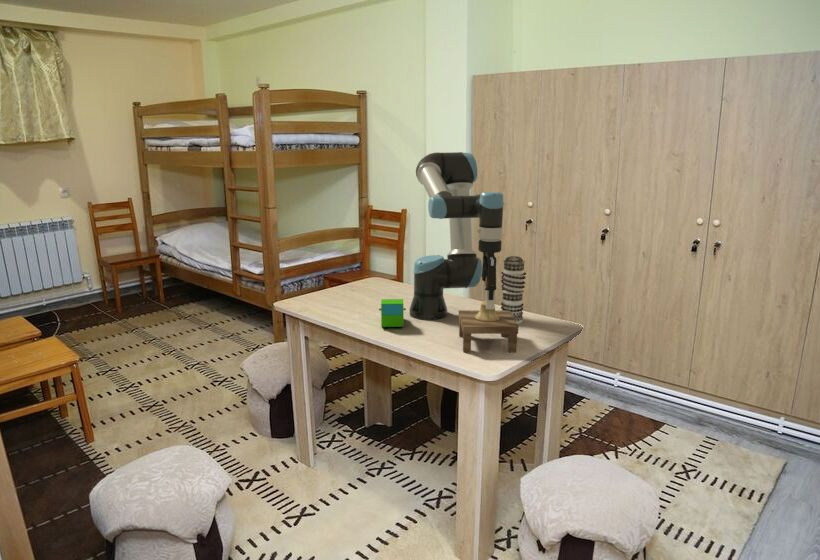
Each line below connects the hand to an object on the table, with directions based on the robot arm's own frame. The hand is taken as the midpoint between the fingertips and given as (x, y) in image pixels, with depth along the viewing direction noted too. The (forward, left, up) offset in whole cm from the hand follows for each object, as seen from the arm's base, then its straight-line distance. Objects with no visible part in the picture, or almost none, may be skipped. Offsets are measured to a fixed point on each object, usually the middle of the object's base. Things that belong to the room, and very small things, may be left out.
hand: (487, 304), depth 192 cm
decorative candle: (-25, +13, -14) cm, 32 cm away
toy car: (-21, -33, -14) cm, 42 cm away
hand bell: (0, 0, -5) cm, 5 cm away
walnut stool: (0, 0, -14) cm, 14 cm away
